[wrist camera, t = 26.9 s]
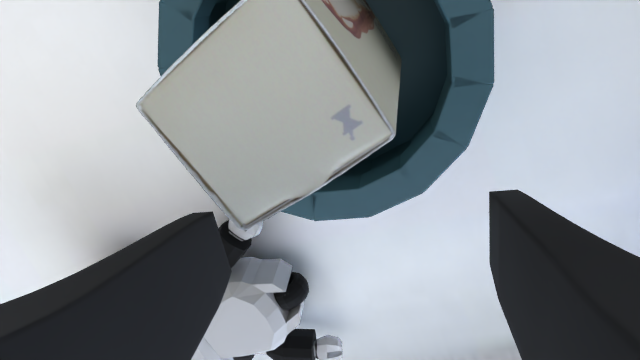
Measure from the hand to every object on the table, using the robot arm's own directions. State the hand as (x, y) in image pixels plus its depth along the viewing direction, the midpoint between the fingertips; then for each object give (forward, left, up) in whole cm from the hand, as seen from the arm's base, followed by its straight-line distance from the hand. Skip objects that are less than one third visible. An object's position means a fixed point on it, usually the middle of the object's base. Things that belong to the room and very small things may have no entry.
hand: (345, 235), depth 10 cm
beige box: (+1, -3, -10) cm, 11 cm away
